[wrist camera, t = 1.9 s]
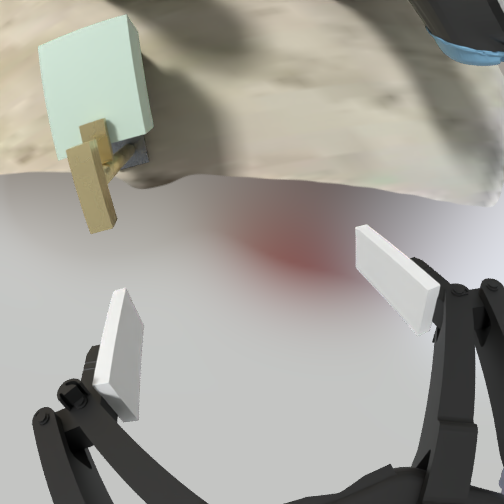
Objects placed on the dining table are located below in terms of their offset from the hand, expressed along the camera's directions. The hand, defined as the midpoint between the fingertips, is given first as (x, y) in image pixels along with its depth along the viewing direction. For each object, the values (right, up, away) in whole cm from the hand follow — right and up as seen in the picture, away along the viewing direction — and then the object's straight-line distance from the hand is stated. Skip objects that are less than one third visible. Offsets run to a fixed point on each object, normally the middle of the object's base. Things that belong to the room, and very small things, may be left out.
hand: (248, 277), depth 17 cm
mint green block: (-16, +20, +12) cm, 28 cm away
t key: (-16, +15, +20) cm, 30 cm away
